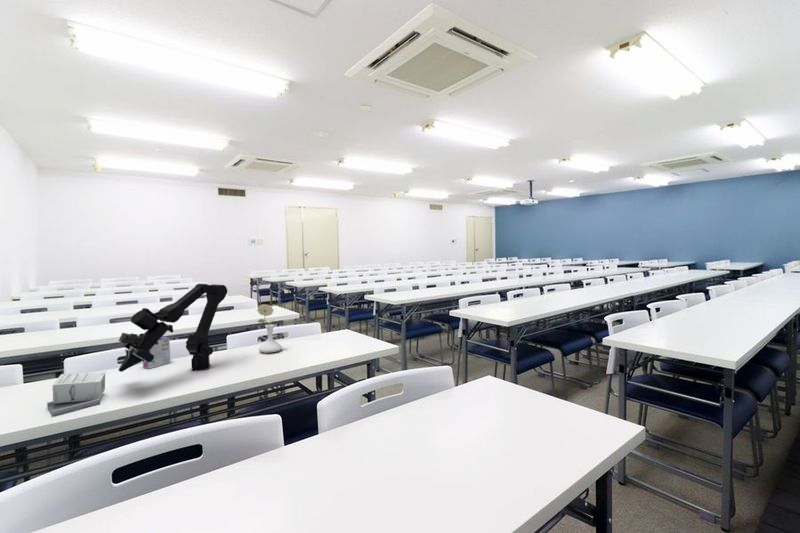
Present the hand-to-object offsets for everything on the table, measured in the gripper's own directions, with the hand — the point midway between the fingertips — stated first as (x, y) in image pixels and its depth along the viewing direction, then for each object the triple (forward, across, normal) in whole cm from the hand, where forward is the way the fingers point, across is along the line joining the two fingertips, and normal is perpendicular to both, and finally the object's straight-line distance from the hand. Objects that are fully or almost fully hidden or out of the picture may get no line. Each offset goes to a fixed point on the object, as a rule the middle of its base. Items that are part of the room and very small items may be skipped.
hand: (119, 371), depth 131 cm
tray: (+15, 0, -4) cm, 16 cm away
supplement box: (+6, 0, -1) cm, 6 cm away
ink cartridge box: (-7, -26, +20) cm, 34 cm away
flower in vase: (-38, -5, +52) cm, 65 cm away
